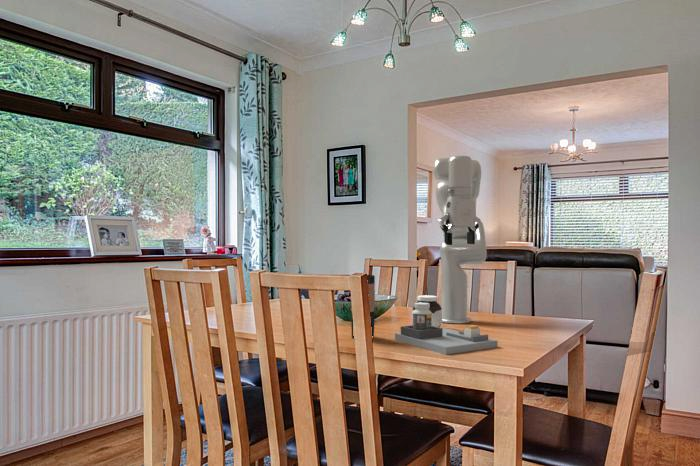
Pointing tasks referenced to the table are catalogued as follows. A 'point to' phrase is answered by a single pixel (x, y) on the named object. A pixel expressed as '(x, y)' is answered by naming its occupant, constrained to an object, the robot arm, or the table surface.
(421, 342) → the panel
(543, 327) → the table surface
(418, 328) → the pill bottle
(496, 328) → the table surface
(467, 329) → the toggle
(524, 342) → the table surface
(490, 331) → the table surface
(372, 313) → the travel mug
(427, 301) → the spread jar
